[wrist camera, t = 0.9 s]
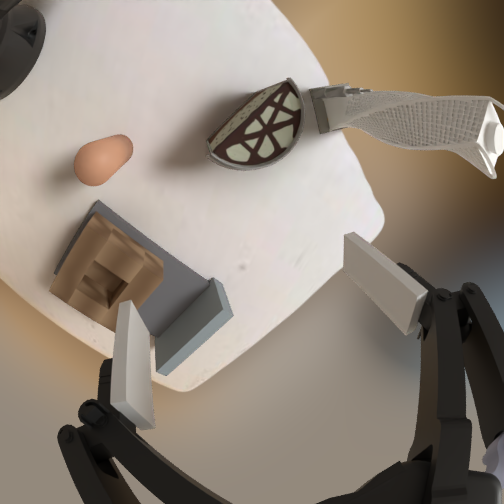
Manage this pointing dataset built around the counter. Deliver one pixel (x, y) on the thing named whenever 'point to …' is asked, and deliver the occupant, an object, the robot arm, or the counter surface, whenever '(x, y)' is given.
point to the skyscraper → (416, 121)
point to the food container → (260, 129)
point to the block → (106, 272)
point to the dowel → (102, 159)
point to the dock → (172, 300)
